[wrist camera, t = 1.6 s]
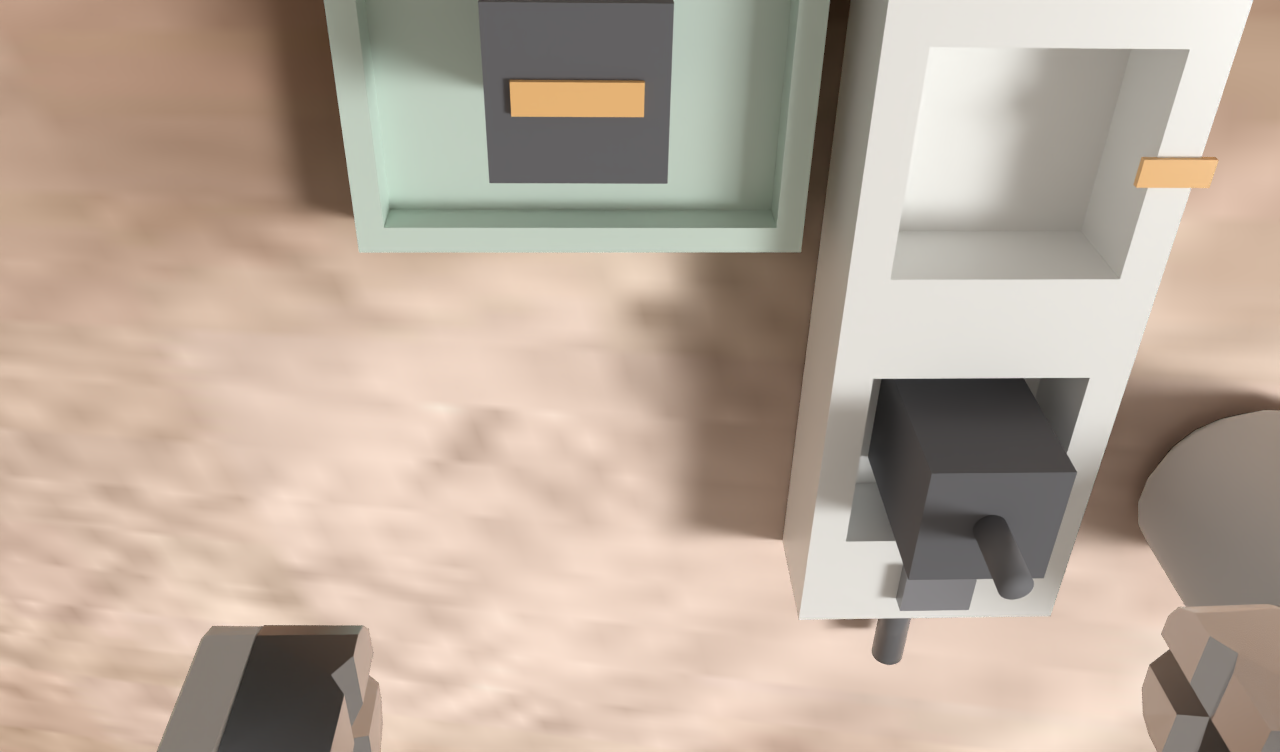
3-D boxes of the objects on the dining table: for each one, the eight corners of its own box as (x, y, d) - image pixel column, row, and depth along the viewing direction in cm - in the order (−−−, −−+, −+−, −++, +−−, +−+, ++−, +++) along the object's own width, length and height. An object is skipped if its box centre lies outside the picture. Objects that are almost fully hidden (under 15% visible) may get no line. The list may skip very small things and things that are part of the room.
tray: (306, -267, 26) (287, -260, 25) (842, -257, 27) (858, -249, 25) (370, 221, 34) (359, 252, 32) (790, 221, 34) (801, 252, 33)
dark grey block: (497, -65, 28) (477, 3, 23) (659, -63, 29) (674, 5, 24) (505, 92, 31) (488, 186, 26) (655, 93, 31) (667, 186, 26)
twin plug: (885, 356, 36) (954, 531, 29) (1011, 356, 36) (1109, 529, 29) (867, 456, 39) (928, 640, 32) (986, 455, 39) (1071, 637, 32)
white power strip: (868, -145, 28) (911, -109, 25) (1224, -140, 29) (1320, -103, 25) (771, 631, 45) (787, 725, 41) (998, 628, 45) (1035, 720, 42)
